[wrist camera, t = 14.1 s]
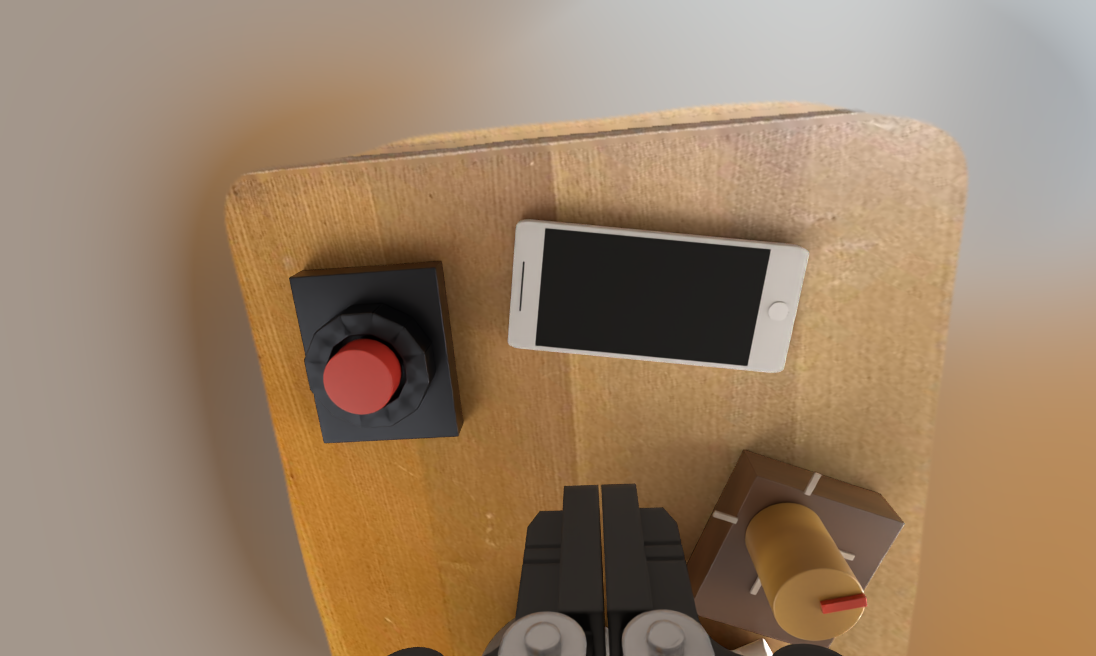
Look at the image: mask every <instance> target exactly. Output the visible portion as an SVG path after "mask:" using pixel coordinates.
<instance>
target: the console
mask: <svg viewBox="0 0 1096 656" xmlns="http://www.w3.org/2000/svg"><path fill="white" fill-rule="evenodd" d="M779 503H796V504H800V505H803V506H805V507H807V508H809V509H811V510H812V511H813V512H815V513H816V514H817V515H818V517H819V518H820V520H821V521H822V523H823V525H824V526H825V528H826V529H827V531H828V533H829V534H830V536H831V538H832V539H833V541H834V543H835V544H836V546H837V547H838V549H839V551H840V552H841V554H842V556H843V557H844V559H845V561H846V562H847V564H848V565H849V567H850V569H851V570H852V572H853V574H854V575H855V577H856V578H857V580H858V582H859V583H860V585H861V587H862V589H863V591H864V589H865V588H866V586H867V584H868V583H869V581H870V579H871V578H872V576H873V575H874V573H875V571H876V570H877V568H878V566H879V565H880V563H881V562H882V560H883V558H884V557H885V555H886V553H887V552H888V550H889V548H890V547H891V545H892V544H893V542H894V540H895V539H896V537H897V535H898V534H899V532H900V531H901V529H902V527H903V526H904V522H903V521H902V520H901V518H900V517H899V516H898V515H897V513H896V512H895V511H894V510H893V509H892V507H891V506H890V505H889V504H888V502H887V501H886V500H885V499H884V498H883V496H882V495H881V494H879V493H876V492H873V491H870V490H867V489H864V488H861V487H858V486H855V485H851V484H848V483H845V482H842V481H839V480H836V479H833V478H830V477H827V476H824V475H821V474H820V473H817V472H811V471H808V470H805V469H802V468H799V467H796V466H793V465H790V464H787V463H784V462H781V461H777V460H774V459H771V458H768V457H765V456H762V455H759V454H756V453H753V452H750V451H747V450H743V452H742V454H741V456H740V458H739V460H738V462H737V464H736V466H735V468H734V470H733V472H732V474H731V476H730V478H729V480H728V482H727V484H726V486H725V488H724V490H723V492H722V494H721V496H720V498H719V500H718V502H717V504H716V507H715V509H714V511H713V513H712V515H711V517H710V519H709V521H708V523H707V525H706V527H705V529H704V531H703V533H702V535H701V537H700V539H699V541H698V543H697V545H696V547H695V549H694V551H693V553H692V555H691V557H690V559H689V561H688V563H687V565H686V566H687V570H688V575H689V579H690V583H691V588H692V592H693V597H694V601H695V606H696V610H697V614H698V615H699V616H702V617H705V618H708V619H712V620H715V621H718V622H721V623H725V624H728V625H731V626H735V627H738V628H741V629H744V630H748V631H751V632H754V633H757V634H761V635H764V636H767V637H771V638H774V639H777V640H780V641H784V642H787V643H790V644H801V643H804V644H813V645H818V646H822V647H825V648H829V646H830V645H831V643H832V641H833V640H834V638H835V637H834V638H831V639H827V640H820V641H811V640H804V639H800V638H797V637H794V636H792V635H790V634H789V633H787V632H786V631H785V630H783V629H782V628H781V627H780V625H779V624H778V623H777V621H776V619H775V617H774V614H773V612H772V609H771V607H770V604H769V602H768V599H767V597H766V594H765V592H764V589H763V587H762V584H761V582H760V579H759V577H758V574H757V572H756V569H755V567H754V564H753V562H752V559H751V557H750V554H749V552H748V549H747V546H746V542H745V535H746V530H747V527H748V525H749V523H750V522H751V520H752V519H753V518H754V516H755V515H756V514H758V513H759V512H760V511H762V510H763V509H765V508H767V507H769V506H772V505H775V504H779Z"/></svg>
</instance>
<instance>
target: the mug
mask: <svg viewBox="0 0 1096 656" xmlns="http://www.w3.org/2000/svg"><path fill="white" fill-rule="evenodd" d="M730 651H732V652H734V653H737V654H740V655H743V656H772V655H773V654H772V652H771V650H770V648H769V646H768V644H767V643H766V641H765V640H764V639H763V638H761V639H759V640H756V641H754V642H752V643H749V644H747V645H745V646H742V647H740V648H738V649H735V650H730Z"/></svg>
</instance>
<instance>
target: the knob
mask: <svg viewBox="0 0 1096 656" xmlns="http://www.w3.org/2000/svg"><path fill="white" fill-rule="evenodd" d="M745 542H746V546H747V549H748V552H749V554H750V557H751V559H752V562H753V564H754V567H755V569H756V572H757V574H758V577H759V579H760V582H761V584H762V587H763V589H764V592H765V594H766V597H767V599H768V602H769V604H770V607H771V609H772V612H773V614H774V617H775V619H776V621H777V623H778V624H779V625H780V627H781V628H782V629H783V630H785V631H786V632H787V633H789V634H790V635H792V636H794V637H797V638H800V639H804V640H811V641H820V640H827V639H831V638H834V637H837V636H839V635H841V634H843V633H845V632H846V631H848V630H849V629H850V628H852V627H853V626H854V625H855V624H856V622H857V621H858V620H859V618H860V617H861V615H862V613H863V610H864V607H866V606H867V599H866V596H865V594H864V591H863V589H862V587H861V585H860V583H859V582H858V580H857V578H856V577H855V575H854V574H853V572H852V570H851V569H850V567H849V565H848V564H847V562H846V561H845V559H844V557H843V556H842V554H841V552H840V551H839V549H838V547H837V546H836V544H835V543H834V541H833V539H832V538H831V536H830V534H829V533H828V531H827V529H826V528H825V526H824V525H823V523H822V521H821V520H820V518H819V517H818V515H817V514H816V513H815V512H813V511H812V510H811V509H809V508H807V507H805V506H803V505H800V504H796V503H779V504H775V505H772V506H769V507H767V508H765V509H763V510H762V511H760V512H759V513H758V514H756V515H755V516H754V518H753V519H752V520H751V522H750V523H749V525H748V527H747V530H746V535H745Z"/></svg>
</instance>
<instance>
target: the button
mask: <svg viewBox="0 0 1096 656" xmlns="http://www.w3.org/2000/svg"><path fill="white" fill-rule="evenodd" d="M401 374H402V372H401V365H400V362H399V360H398V358H397V356H396V355H395V353H394V352H393V351H392V350H391V349H390V348H389V347H388V346H386V345H385V344H383V343H381V342H379V341H376V340H372V339H357V340H353V341H351V342H349V343H347V344H346V345H345V346H343V347H342V348H341V349H340V350H339V351H338V352H337V353H336V354H335V355H334V356H333V357H332V358H331V359H330V360H329V362H328V363H327V365H326V367H325V370H324V374H323V382H324V387H325V390H326V392H327V394H328V396H329V397H330V399H331V400H332V401H333V402H334V403H335V404H336V405H337V406H338V407H340V408H341V409H343V410H345V411H347V412H350V413H354V414H370V413H374V412H376V411H378V410H380V409H381V408H383V407H384V406H385V405H386V404H387V403H388V401H389V400H390V398H391V397H392V395H393V394H394V392H395V391H396V389H397V388H398V386H399V384H400V381H401Z"/></svg>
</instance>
